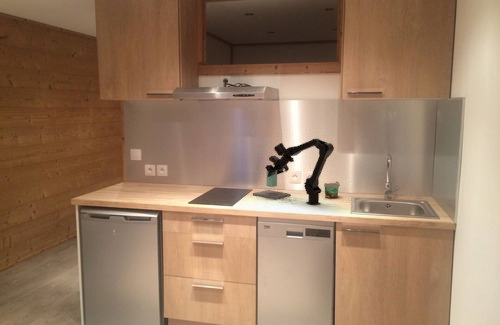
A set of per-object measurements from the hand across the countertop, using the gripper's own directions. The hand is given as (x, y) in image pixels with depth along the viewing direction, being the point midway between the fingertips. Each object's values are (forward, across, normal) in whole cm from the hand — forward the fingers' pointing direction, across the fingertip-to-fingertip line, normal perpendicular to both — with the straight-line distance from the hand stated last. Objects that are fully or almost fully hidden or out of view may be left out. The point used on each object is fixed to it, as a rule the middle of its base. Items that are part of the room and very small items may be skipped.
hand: (270, 176), depth 256 cm
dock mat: (+8, 0, +10) cm, 13 cm away
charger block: (+4, 0, +6) cm, 7 cm away
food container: (-15, -24, +34) cm, 44 cm away
